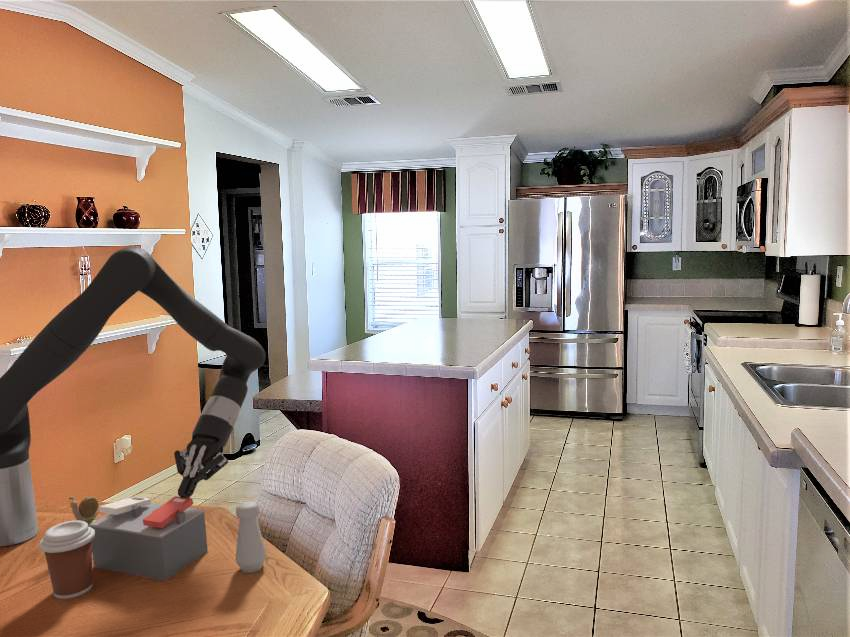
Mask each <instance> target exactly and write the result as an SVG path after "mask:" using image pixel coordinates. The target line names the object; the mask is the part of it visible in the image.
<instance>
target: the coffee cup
mask: <svg viewBox="0 0 850 637" xmlns="http://www.w3.org/2000/svg"><path fill="white" fill-rule="evenodd" d="M94 538H95V530H94V529H92V528H91V527H88V523H86V522H85V521H79V520H77V519H76V520H69V521H64V522H61V523H57V524H54V525H53V526H51V527H49V528H48V529H47V530H45V533H44V537H43V538H42V539H41V540H40V541H39V545H38V546H39V550H41V552H43V553H44V556H45V560H46V565H47V569H48V570H47V571H48V574H49V577H50V582H51V587H52V592H53V597H55V598H56V599H58V600H67V599H73V598H77V597H79V596H82V595H84V594H86V593H87V592H89V591H90V590H91V589H92V587H93V584H94V583H93V554H92V540H93V539H94Z"/></svg>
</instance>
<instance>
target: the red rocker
mask: <svg viewBox="0 0 850 637" xmlns="http://www.w3.org/2000/svg"><path fill="white" fill-rule="evenodd" d="M163 504H164V505H162V506H161V507H159V508H158V509H157V510H155V511H154V512H153V513H151V514H150V515H148V516H147V517H146V518H144V519H143V524H144V525H145V526H151V527H158V528H163V527H164V526H165V525H166V524H168V523H169V522H170V521H172V520H173V519H174V518H176V514H178V513H180V512H181V511H182V512H183V511H185V510H186V509H187V508H191V506H193V504H194V500H193V498H191V497H190V498H184V497H180V496H176V495H175V496H173V497H172V498H170V499H169V500H168V501H166V502H165V503H163Z"/></svg>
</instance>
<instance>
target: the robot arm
mask: <svg viewBox="0 0 850 637" xmlns="http://www.w3.org/2000/svg"><path fill="white" fill-rule="evenodd" d="M137 292H140V293H142V294H143V295H145V296H146V297H148V298H150V299H151V300H152V301H153V302H155V303H157V304H158V305H159V306H160V307H161V308H162V309H163V310H165V312H167V314H168V315H169V316H170V317H171V318H172V320H174V322H176V323H177V325H178V326H179V327H181V329H182V330H183V331H185V332H186V334H188V335H189V336H190V337H192V338H193V339H194V340H195V341H197V342H198V343H199V344H201V345H202V346H203V347H204V348H206V349H207V350H209V351H210V352H216V351H218V352H219V351H220V352H222V353H224V354H226V357H225V358H224V360H223V363H222V366H221V369H220V371H219V372H220V373H219V375H218V376H219V377H218V381H217V383H216V384H215V386H214V389H213V391H212V393H211V394H210V396H209V399H208V401H207V402H206V404H205V405H204V407H203V409H202V412H201V413H200V416H199V417H198V419H197V422H196V424H195V427H194V428H193V430H192V432H191V433H192V434H191V440H190V442H189V443H187V445H186V448H185V449H182V450H181V451H180V450H175V451H174V452H173V455H174V461H175V465H176V469H177V473H178V474H179V475H180V476H182V480H181V482H180V485H179V486H178V488H177V495H178V496H177V497H184V498H191V497H192V495H193V494H194V493H195V489H196V488H197V485H198V483H200V482H201V481H208V480H210V478H212V477H213V476H214V475H215V474H216V473H218V472H220V470H221V469H223V468H224V467H225V466H226V465H227V464H228V463H229V460H228V459H227V458H226V457H225V456H224V454H223V452H224V448H225V447H227V443H228V442H229V440H230V438H231V434H232V432H233V430H234V428H235V426H236V423H237V421H238V417H239V415H240V411H241V409H242V407H243V404H244V402H245V400H246V397H247V395H248V394H247V393H248V384H247V383H248V381H249V378H250V376H251V375H252V373H254V372H255V371H257V370H258V369H260V368H261V367H262V366H263V365H264V364H265V362H266V351H265V349H264V348H263V346H262V345H261V344H260V342H259V341H257V340H256V339H255V338H254V337H252V336H250V335H247V334H246V333H244V332H242V331H240V330H238V329H236V328H233V327H231V326H230V325H228V324H227V323H226V322H224V320H222V319H221V318H219V317H218V316H217V315H216V314H215V313H214V312H212V311H211V310H210V309H209V308H208V307H206V306H205V305H203V304H202V303H201V302H199V301H198V300H197V299H196V298H195V297H193V296H192V295H191V294H190V293H188V292H187V291H186V290H185V289H183V287H182V286H181V285H179V284H178V282H176V281H175V280H174V279H173V278H172V277H171V276H170V275H168V272H166V271H165V270H164V269H163V268H162V266H161V265H160V264H159V263H158V262H157V261H156V260H155V259H154V257H153V256H152V255H151V254H150V253H149V252H148V251H146V249H143V248H140V247H136V246H128V247H127V246H126V247H124V248H121V249H119V250H117V251H115V252H113V253H112V254H111V255H110V256H109V257H108V259H107V260H106V261H105V263H104V264H103V266H102V267H101V269H99V271H98V273H96V276H95V277H94V278H93V279H92V280H91V282H90V283H89V284H88V286H87V287H86V288H85V289H84V290H83V291H82V292H81V293H80V294H79V295H78V296H77V297H76V298H74V299H73V300H72V301H70V302H69V303H68V304H67V305H66V306H65V307H63V309H62V310H60V311H59V312H58V313H57V314H56V315H55V316H54V317H53V318H51V320H50V321H49V322H48V323H47V324H45V327H43V328H42V329H41V331H39V332H38V334H37V335H36V336H35V337H34V338H33V339H32V341H31V342H30V343H29V344H28V345H27V346H26V348H25V349H24V350H23V351H22V352H21V353H20V354H19V356H18V357H17V358H16V360H15V361H14V362H13V363H12V364H11V366H10V367H9V368H8V369H7V370H6V371H5V372H4V373H3V375H2V376H1V377H0V547H8V546H13V545H17V544H21V543H24V542H26V541H29V540H30V539H31V538H32V539H33V537H36V536H37V535H38V532H39V528H38V520H37V519H38V518H37V517H38V516H37V508H36V501H35V494H34V486H33V485H34V484H33V475H32V469H31V460H30V459H31V458H30V452H29V451H30V448H31V447H30V446H31V441H32V435H31V423H30V422H31V421H30V412H29V407H28V404H29V402H30V401H31V400H32V399H33V397H34V396H36V395H37V394H38V393H39V392H40V391H41V390H42V389H43V388H45V387H46V386H47V385H49V384H50V383H52V382H53V381H54V380H56V378H58V377H59V376H61V374H63V373H64V372H66V370H68V369H69V368H70V367H71V366H72V365H73V364H74V363H75V362H77V360H79V358H80V357H81V356H82V355H83V354H84V353H85V352H86V350H88V349H89V347H90V346H91V345H92V344H93V343H94V341H95V340H96V339H97V337H98V336H99V334H100V333H101V331H102V330H103V329H104V327H105V325H106V324H107V323H108V321H109V319H110V318H111V317H112V316H113V314H114V313H115V312H116V311H117V310H118V309H119V308H120V307H121V306H123V305H124V304H125V303H126V302H127V301H129V299H131V297H133V296H134V295H136V294H137Z"/></svg>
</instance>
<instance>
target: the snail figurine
mask: <svg viewBox="0 0 850 637" xmlns="http://www.w3.org/2000/svg"><path fill="white" fill-rule="evenodd" d="M68 499H69V502H70V504H69V506H70V507H71V510H72V513H73V515H74V518H75V520H76V521H77V520H79V521H85V522H86V523H88V527H89V524H91V523H93V522H95V521H97V520H98V519H96V517H97V516H98V514H99V511H98V510H99V509H98V508H99V502H98V499H97V498H96V497H94V496H87V497H85V498H83V499H81V501H80V503H78V501H77V500H74V499H75V496H69V497H68ZM71 500H72V501H71Z"/></svg>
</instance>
